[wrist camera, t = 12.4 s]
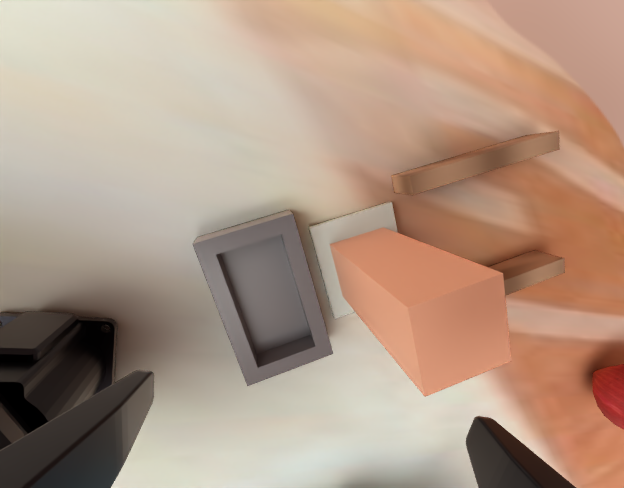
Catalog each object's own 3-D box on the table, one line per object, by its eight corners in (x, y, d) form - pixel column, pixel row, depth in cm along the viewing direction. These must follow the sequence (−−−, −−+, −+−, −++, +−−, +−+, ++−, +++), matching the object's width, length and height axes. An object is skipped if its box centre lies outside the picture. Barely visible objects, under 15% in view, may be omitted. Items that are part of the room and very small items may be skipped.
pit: (247, 367, 22) (247, 386, 20) (197, 237, 20) (192, 244, 18) (325, 338, 23) (333, 353, 21) (288, 209, 21) (293, 213, 19)
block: (342, 296, 22) (425, 396, 12) (329, 244, 21) (407, 307, 11) (393, 279, 23) (511, 361, 13) (383, 227, 22) (503, 273, 12)
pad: (333, 316, 23) (334, 319, 23) (308, 226, 21) (309, 227, 21) (406, 290, 24) (409, 292, 23) (389, 201, 22) (391, 202, 22)
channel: (416, 307, 24) (435, 322, 22) (391, 175, 22) (409, 176, 19) (535, 263, 26) (565, 272, 24) (526, 135, 23) (558, 131, 21)
